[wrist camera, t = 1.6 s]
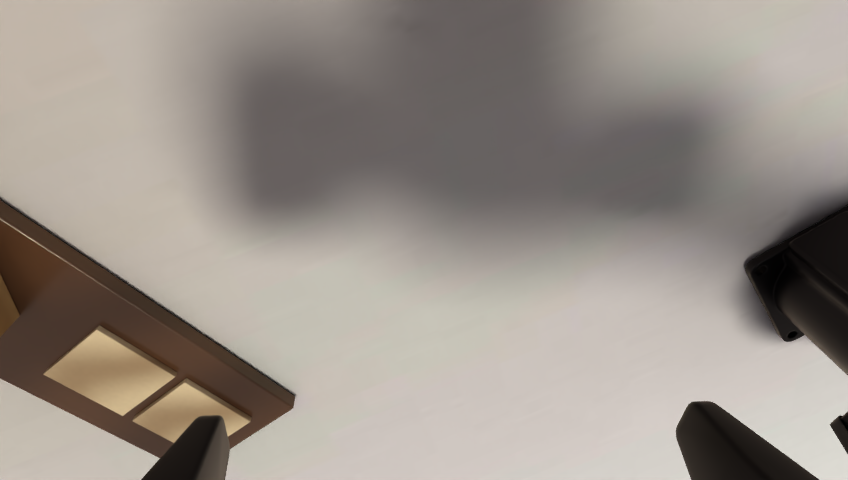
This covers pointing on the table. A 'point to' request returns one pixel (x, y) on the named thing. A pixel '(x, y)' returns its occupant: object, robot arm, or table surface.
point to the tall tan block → (6, 308)
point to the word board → (117, 349)
